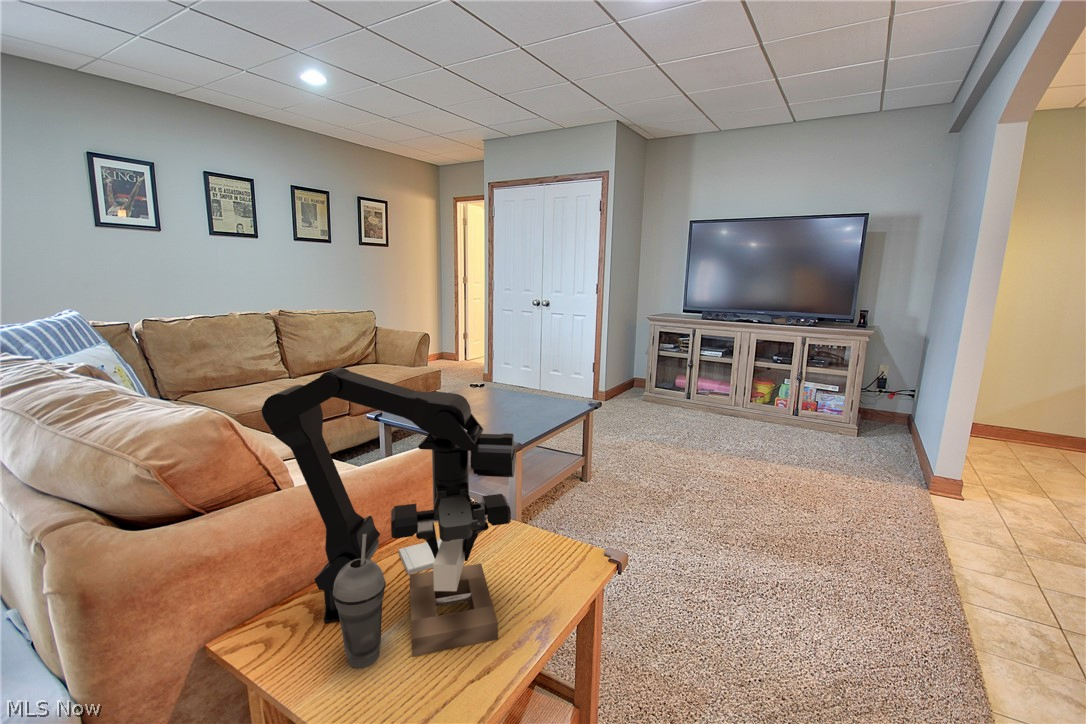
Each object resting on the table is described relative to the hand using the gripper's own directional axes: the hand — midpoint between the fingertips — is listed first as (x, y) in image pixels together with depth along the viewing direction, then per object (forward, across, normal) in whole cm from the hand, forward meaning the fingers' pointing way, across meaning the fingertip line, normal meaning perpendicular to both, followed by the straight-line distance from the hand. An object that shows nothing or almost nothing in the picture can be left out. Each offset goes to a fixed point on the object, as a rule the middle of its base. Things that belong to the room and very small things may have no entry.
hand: (452, 561), depth 80 cm
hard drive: (+10, -2, +18) cm, 21 cm away
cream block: (+1, 0, 0) cm, 1 cm away
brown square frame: (+9, 0, 0) cm, 9 cm away
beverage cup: (+10, -14, -6) cm, 18 cm away
